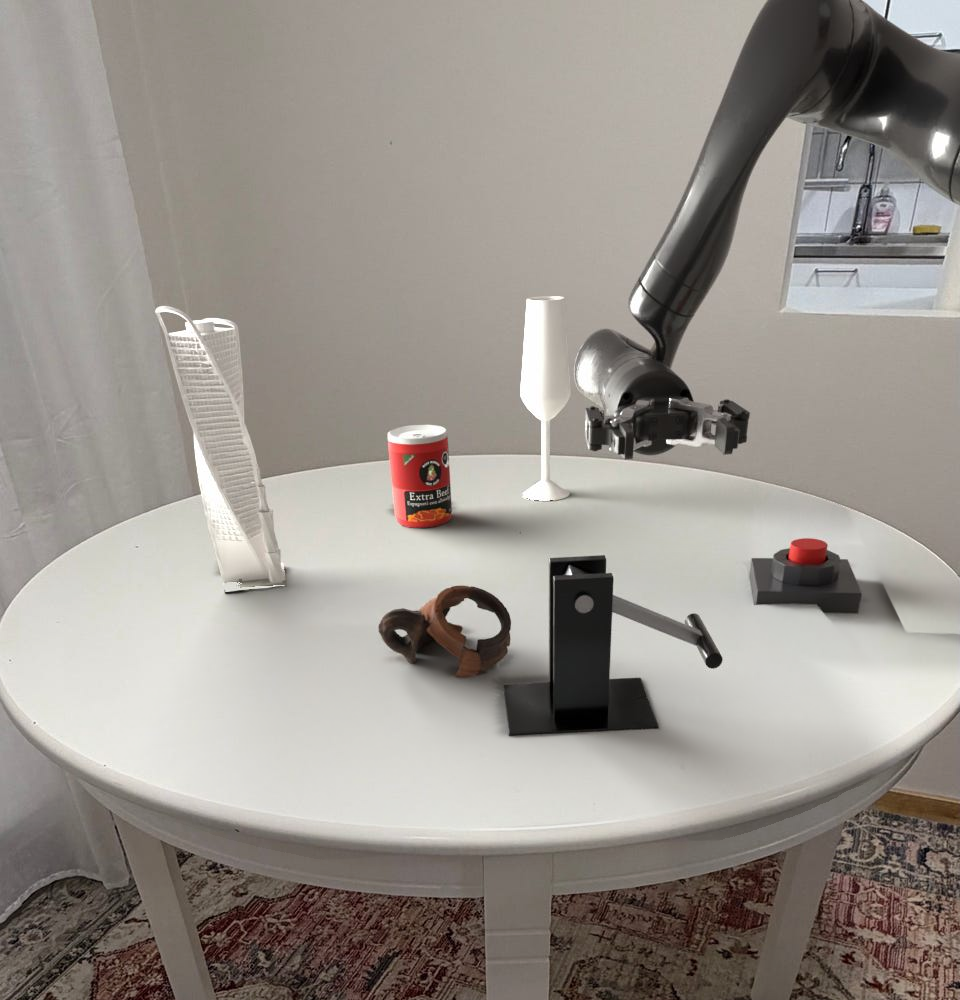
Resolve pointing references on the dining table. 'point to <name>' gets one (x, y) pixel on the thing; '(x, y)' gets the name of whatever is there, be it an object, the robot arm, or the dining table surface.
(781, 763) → the dining table surface
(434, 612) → the brown curved ring piece
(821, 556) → the button
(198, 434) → the skyscraper
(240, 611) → the dining table surface
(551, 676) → the switch bracket
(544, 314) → the champagne flute
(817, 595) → the housing
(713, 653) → the switch lever
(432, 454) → the canned food
